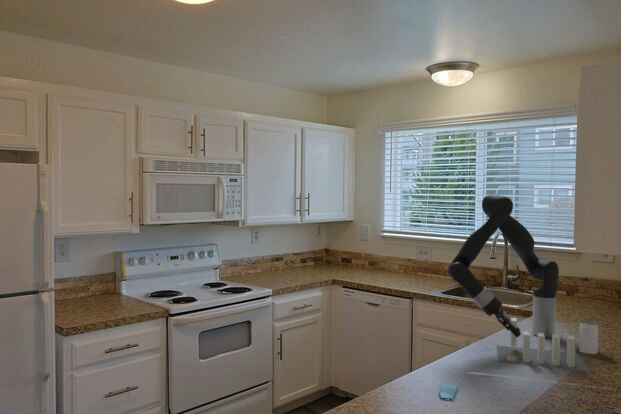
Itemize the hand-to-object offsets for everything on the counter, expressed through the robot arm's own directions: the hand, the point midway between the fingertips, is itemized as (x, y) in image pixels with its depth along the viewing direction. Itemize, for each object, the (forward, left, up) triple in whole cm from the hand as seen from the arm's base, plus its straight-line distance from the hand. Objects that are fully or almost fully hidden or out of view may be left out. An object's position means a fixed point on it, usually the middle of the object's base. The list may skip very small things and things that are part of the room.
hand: (518, 333), depth 204 cm
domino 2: (+11, +2, -7) cm, 13 cm away
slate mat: (+6, +7, -7) cm, 12 cm away
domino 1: (0, -2, -4) cm, 5 cm away
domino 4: (+11, +12, -7) cm, 18 cm away
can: (-9, +26, -8) cm, 29 cm away
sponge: (+53, -24, -8) cm, 58 cm away
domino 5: (+11, +17, -7) cm, 21 cm away
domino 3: (+11, +7, -7) cm, 15 cm away
